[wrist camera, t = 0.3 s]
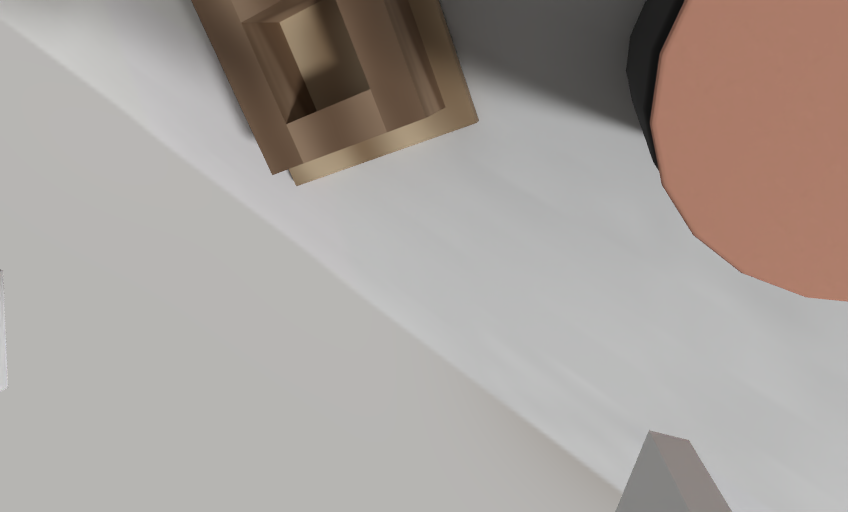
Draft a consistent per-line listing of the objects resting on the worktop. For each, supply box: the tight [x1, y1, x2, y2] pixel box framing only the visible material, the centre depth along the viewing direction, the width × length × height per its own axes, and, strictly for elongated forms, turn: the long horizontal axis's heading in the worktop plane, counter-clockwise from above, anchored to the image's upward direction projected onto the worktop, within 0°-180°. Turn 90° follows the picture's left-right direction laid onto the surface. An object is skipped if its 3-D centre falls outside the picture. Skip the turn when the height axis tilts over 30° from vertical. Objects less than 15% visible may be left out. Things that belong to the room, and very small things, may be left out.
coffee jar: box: [626, 0, 848, 301], centre depth 19 cm, size 11×11×18 cm
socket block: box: [191, 0, 479, 186], centre depth 31 cm, size 14×14×5 cm
